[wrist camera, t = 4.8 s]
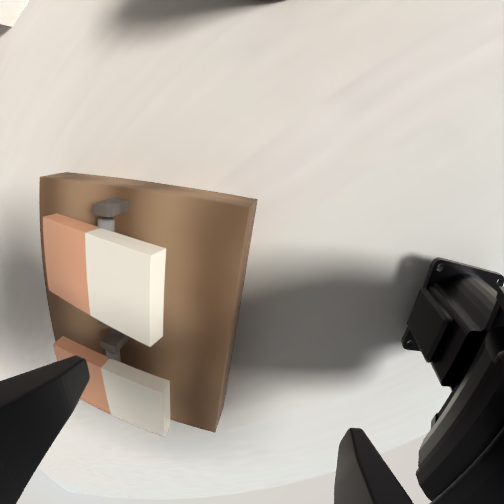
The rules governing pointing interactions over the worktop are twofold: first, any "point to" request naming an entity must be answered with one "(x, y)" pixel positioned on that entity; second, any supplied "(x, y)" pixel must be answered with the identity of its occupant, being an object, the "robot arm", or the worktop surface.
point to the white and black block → (11, 11)
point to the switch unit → (166, 281)
